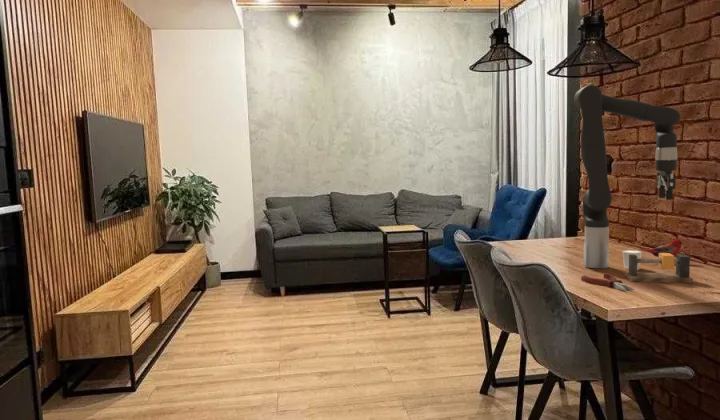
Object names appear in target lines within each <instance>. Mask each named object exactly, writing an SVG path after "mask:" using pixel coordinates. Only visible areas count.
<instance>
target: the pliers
mask: <svg viewBox="0 0 720 420" xmlns="http://www.w3.org/2000/svg"><path fill="white" fill-rule="evenodd" d="M603 278H604V279H603ZM603 278H602V279H601V278H596V277H591V276H588V275H586V274H585V275H581V278H580V280H581V281H582V282H584V281H585V282H584V283H587V284H592V285H598V286H605V287H607V288H615V289H616V290H621V291H625V292H627V291H628V290H629V291H635V288H633V287H631V286H629V285H627V284H624V283H623V281H622V280H621V279H617V277H615V276H614V275H613V274H609V273H603Z"/></svg>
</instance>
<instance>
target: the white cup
mask: <svg viewBox="0 0 720 420" xmlns="http://www.w3.org/2000/svg"><path fill="white" fill-rule="evenodd" d="M629 255H636V256H637V259H642V250H641V251H640V250H633V249H632V250H631V249H628V250H625V249H624V250H622V258H623V259H622V260H623V261H622V262H623V268H624V269H626V270H629ZM640 268H641V263H637V270H640Z"/></svg>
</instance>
